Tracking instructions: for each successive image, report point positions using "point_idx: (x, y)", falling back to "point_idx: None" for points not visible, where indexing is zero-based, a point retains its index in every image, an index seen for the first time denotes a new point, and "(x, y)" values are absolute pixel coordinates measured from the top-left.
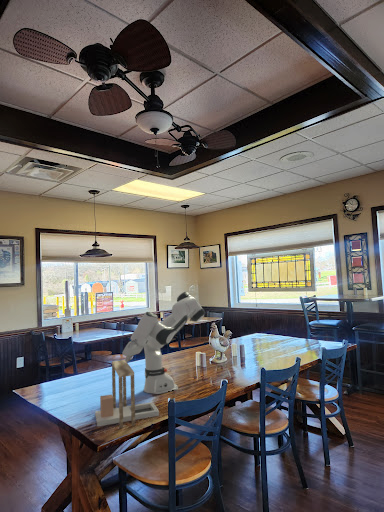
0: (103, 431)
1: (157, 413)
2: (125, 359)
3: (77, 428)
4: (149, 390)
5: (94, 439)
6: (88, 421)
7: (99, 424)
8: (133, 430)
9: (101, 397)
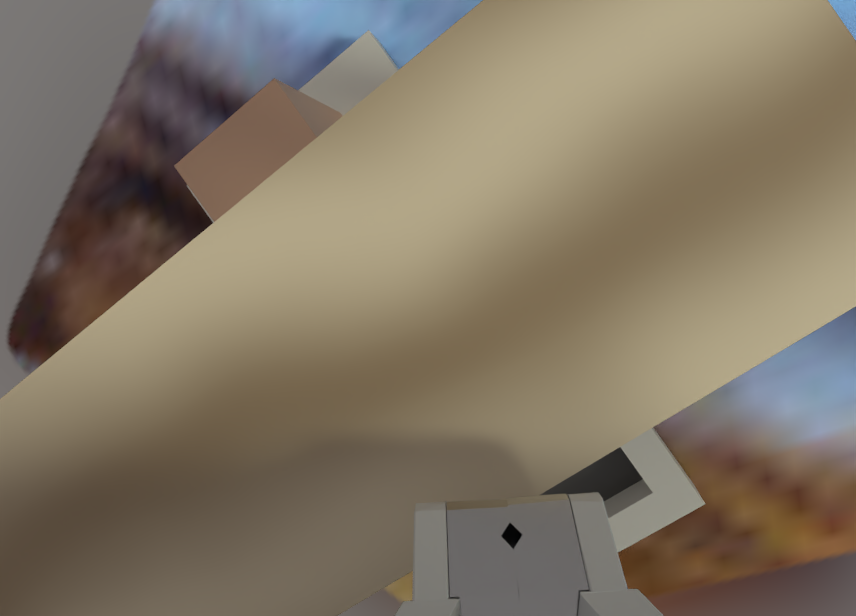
0: None
1: None
2: (417, 539)
3: (150, 38)
4: None
5: (50, 273)
6: (279, 46)
7: None
8: None
9: (239, 121)
